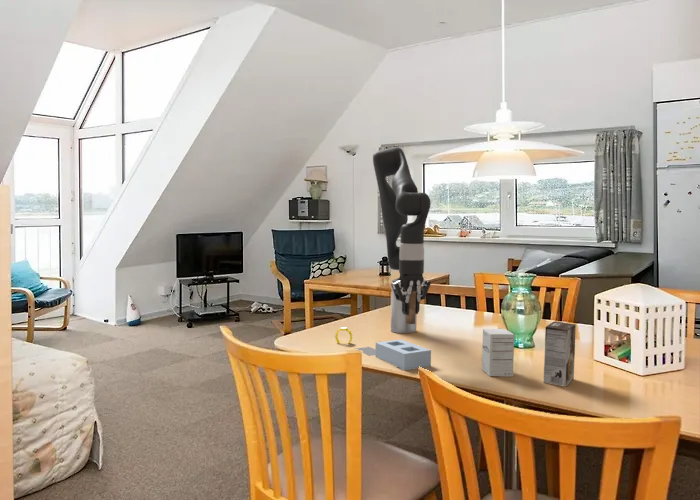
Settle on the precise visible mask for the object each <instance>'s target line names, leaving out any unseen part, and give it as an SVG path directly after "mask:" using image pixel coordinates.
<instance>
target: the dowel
mask: <svg viewBox="0 0 700 500" xmlns="http://www.w3.org/2000/svg"><path fill="white" fill-rule="evenodd" d="M406 292H407V291H406ZM408 303H409V315H406V324H415V315H416V291H411V295H410V296H409V302H408Z"/></svg>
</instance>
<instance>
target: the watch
mask: <svg viewBox="0 0 700 500" xmlns="http://www.w3.org/2000/svg"><path fill="white" fill-rule="evenodd" d="M340 331H345V332H347V333H348V335H349V341H348V342H347V343H346V344H347V345H349V344H350V343H352V342H353V341H352V340H353V334H352V332H351V330H350V329H348V327H347V326H341V327H339V329H338V330H337V331H336V333H335V335H334V339H335V342H336V343H338V344H341V341H340V340H339V338H338V335H339V332H340Z"/></svg>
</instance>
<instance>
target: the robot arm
mask: <svg viewBox="0 0 700 500" xmlns="http://www.w3.org/2000/svg"><path fill="white" fill-rule="evenodd" d="M372 163H373V170H374V172H375V173H374V174H375V178H376V182H377V187H378V192H379V198H380V199H379V201H380V206H381V208H380V209H381V214H382V215H381V216H382V221H383V227H384V231H385V239H386V250H387V252H386V253H387V264H388V266H389V268H390V269H391V270H394V271H395V270H396V271H398V272H399V277H397V278H395V279H392V280H391V292H390V293H391V296H390V297H391V302H390V310H391V311H390V332H393V333H397V334H410V333H414V332H417V324H418V323H417V320H418V319H417V318H418V317H417V316H418V314H419V312H420V308H421V307H420V304H421V303H420V302H421V301H423V300H425V299H426V297H427V294H428V292H429V289H430V286H431V281H429V280H425V277H424V271H425V270H424V269H425V246H424V240H425V239H424V237H425V226H426V223H427V219H428V215H429V213H430V210H431V198H430V196H429V195H428V194H427V193H426V192H419V190H418V187H417V185H416V184H415V181H414V179H413V178H412V175H411V172H410V167H409V164H408V161H407V158H406V155H405V153H404V151H403V149H402V148H401V147H391V148H387V149H381V150H377V151H375V152H374V153H373V155H372ZM389 176H393V178H392V179H391V185H390V184H389V182H388V181H387V178H386V177H389ZM408 216H409V217H410V216H414V217H416V218H415V219H414V221H413V222H409V223H408V220H409V219H408V218H409V217H408ZM399 236H400V245H399V246H398V245H397V242H398V239H399ZM406 291H407V292H406ZM411 291H416V315H415V324H406V315H409V303H408V302H409V296H410V295H411Z"/></svg>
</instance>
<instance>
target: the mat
mask: <svg viewBox="0 0 700 500" xmlns="http://www.w3.org/2000/svg"><path fill="white" fill-rule="evenodd" d="M355 349H358V350H362V351H363V353H362V354H365V355H367V356H368V357H369V356H375V351H376V348H372V347H370V346H365V347H364V346H363V347H359V348H355ZM358 350H357V351H358Z"/></svg>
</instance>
